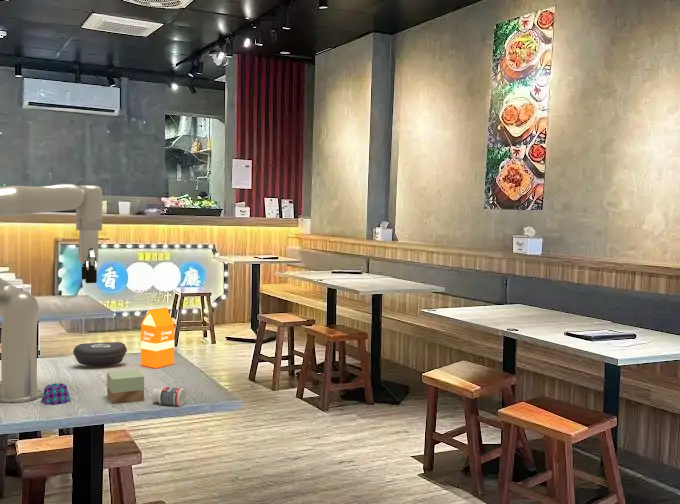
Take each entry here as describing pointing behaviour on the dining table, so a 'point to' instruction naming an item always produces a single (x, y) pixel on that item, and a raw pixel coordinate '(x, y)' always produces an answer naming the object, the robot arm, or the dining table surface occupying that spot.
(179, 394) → the pill bottle
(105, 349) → the glasses case
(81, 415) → the dining table surface
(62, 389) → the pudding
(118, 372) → the tower top slab
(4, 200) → the robot arm
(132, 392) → the tower base slab
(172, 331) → the orange juice
